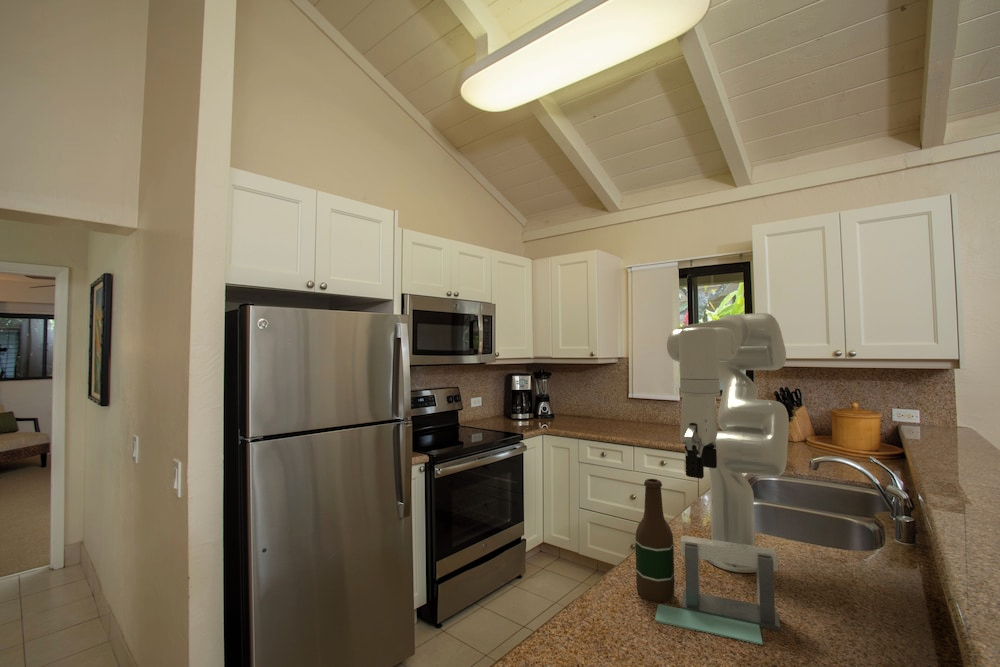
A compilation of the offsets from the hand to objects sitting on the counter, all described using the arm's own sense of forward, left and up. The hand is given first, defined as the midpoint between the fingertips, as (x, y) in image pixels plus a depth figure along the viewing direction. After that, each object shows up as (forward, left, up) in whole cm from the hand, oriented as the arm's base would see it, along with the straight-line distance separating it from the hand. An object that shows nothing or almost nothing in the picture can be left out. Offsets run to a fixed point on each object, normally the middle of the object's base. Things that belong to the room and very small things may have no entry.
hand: (701, 471), depth 93 cm
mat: (+6, 0, -27) cm, 28 cm away
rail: (-1, +4, -17) cm, 18 cm away
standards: (-1, +4, -27) cm, 28 cm away
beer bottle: (-2, -10, -27) cm, 29 cm away
